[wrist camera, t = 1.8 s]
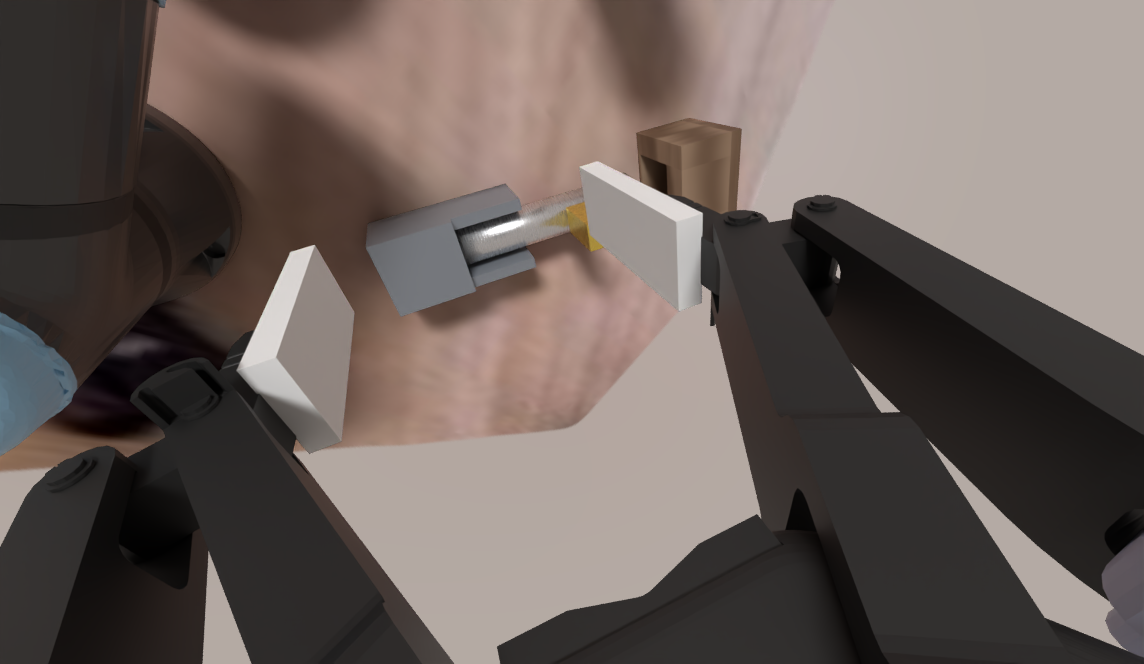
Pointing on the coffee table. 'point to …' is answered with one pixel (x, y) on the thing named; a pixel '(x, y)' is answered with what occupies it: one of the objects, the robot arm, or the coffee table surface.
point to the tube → (528, 227)
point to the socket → (692, 162)
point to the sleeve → (440, 250)
